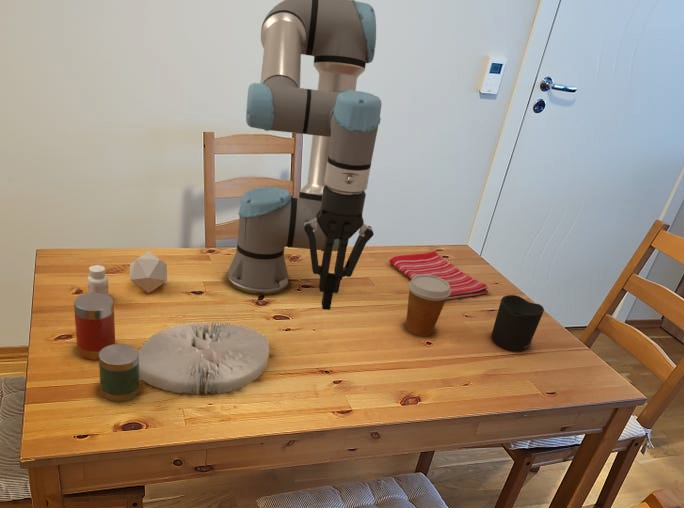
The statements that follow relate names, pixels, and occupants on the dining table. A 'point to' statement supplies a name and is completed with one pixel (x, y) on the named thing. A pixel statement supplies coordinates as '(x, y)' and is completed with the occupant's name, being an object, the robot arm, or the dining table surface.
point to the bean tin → (119, 372)
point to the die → (148, 272)
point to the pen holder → (516, 323)
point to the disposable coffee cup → (425, 303)
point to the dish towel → (439, 273)
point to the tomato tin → (94, 324)
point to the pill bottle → (97, 280)
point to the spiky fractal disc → (203, 357)
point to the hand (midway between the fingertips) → (325, 306)
